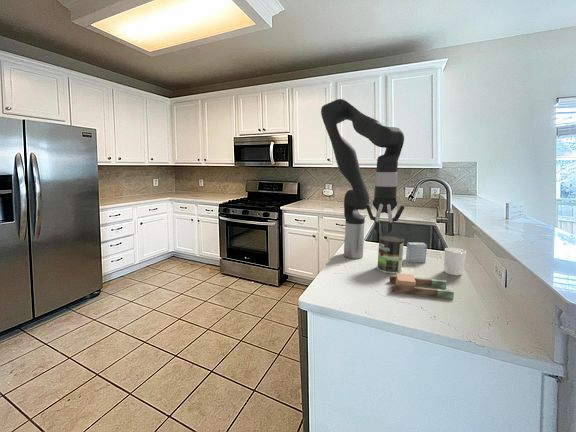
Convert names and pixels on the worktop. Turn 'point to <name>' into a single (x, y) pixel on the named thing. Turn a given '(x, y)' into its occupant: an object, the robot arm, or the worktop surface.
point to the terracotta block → (405, 280)
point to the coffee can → (390, 254)
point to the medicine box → (416, 252)
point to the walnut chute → (423, 291)
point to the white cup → (454, 261)
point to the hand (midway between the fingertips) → (382, 231)
